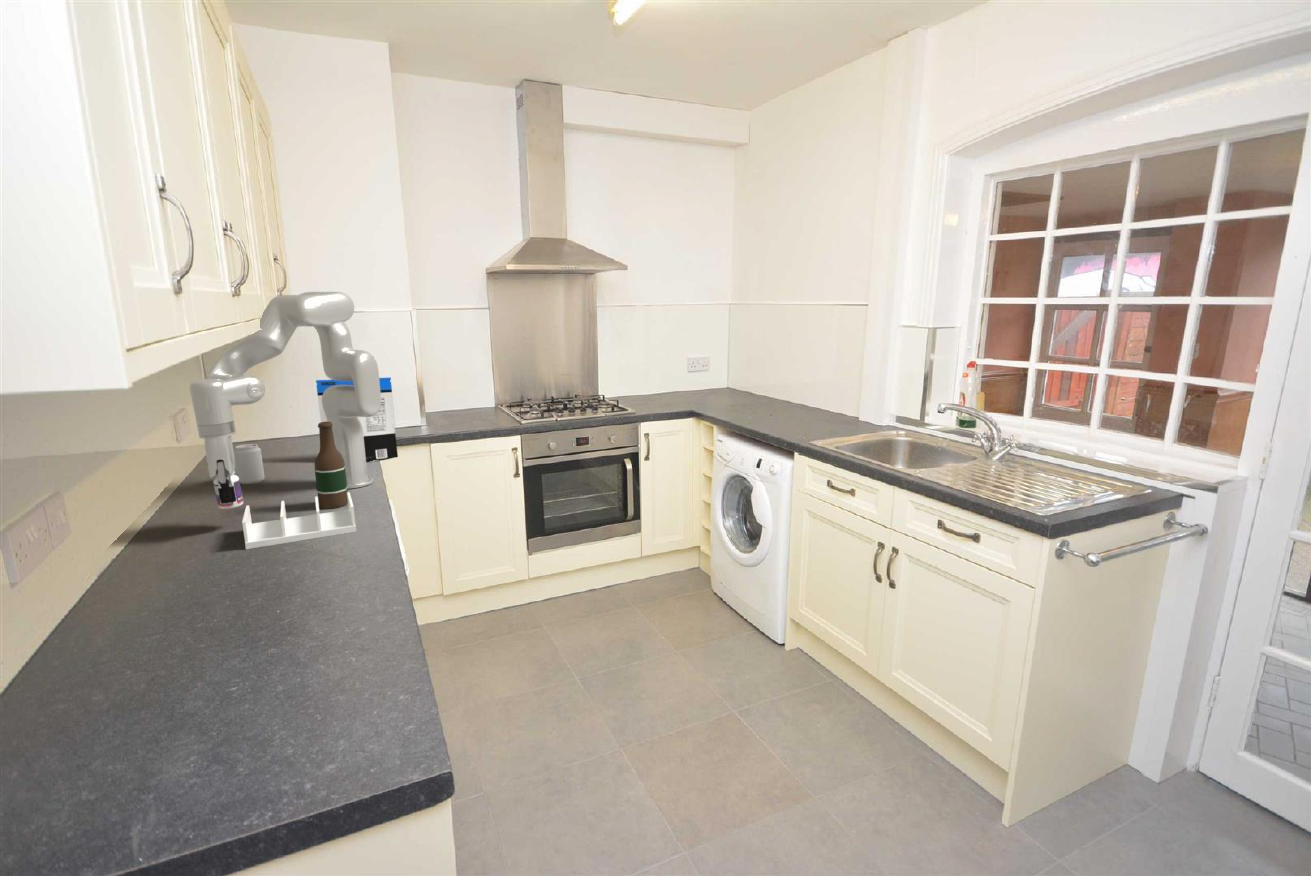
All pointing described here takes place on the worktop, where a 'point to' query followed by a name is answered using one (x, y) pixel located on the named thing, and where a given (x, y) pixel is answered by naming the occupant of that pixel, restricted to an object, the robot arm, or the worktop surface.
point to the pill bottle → (237, 492)
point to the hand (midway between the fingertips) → (229, 497)
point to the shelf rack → (297, 526)
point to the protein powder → (371, 421)
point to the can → (249, 464)
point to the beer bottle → (330, 471)
